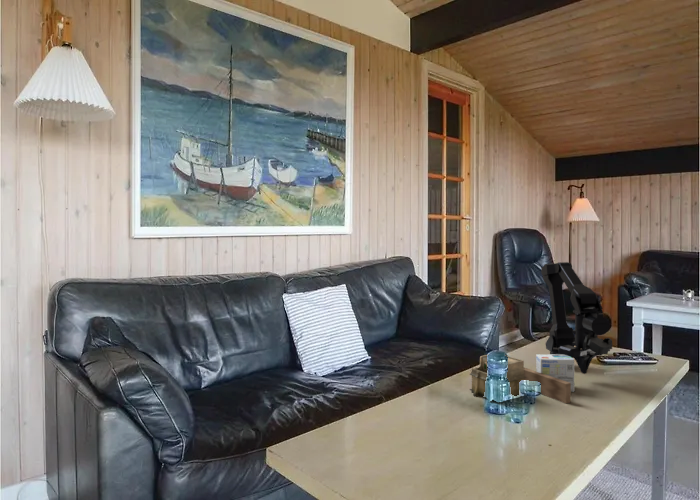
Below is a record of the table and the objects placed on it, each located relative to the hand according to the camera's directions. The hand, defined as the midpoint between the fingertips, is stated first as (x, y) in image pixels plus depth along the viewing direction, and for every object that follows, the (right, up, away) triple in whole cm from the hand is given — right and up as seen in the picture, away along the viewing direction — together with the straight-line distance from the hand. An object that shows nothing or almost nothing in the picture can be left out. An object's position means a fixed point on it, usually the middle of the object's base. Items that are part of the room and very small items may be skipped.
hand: (584, 373), depth 166 cm
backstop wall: (-19, -4, -9) cm, 21 cm away
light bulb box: (-13, -4, -6) cm, 14 cm away
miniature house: (-33, -4, -10) cm, 35 cm away
